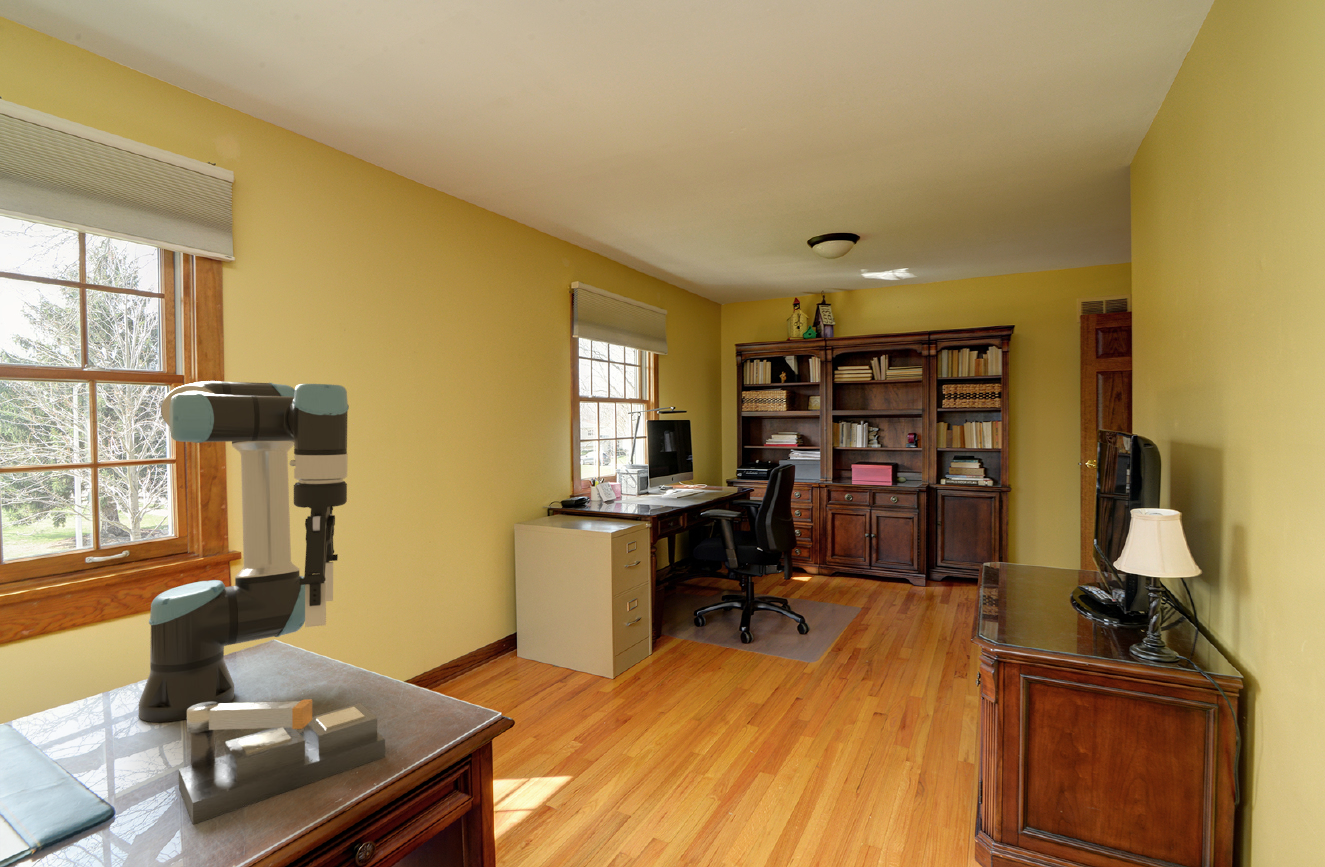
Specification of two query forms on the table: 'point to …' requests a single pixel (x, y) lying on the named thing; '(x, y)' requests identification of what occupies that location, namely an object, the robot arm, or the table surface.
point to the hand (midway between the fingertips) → (320, 612)
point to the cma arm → (248, 715)
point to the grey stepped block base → (276, 760)
